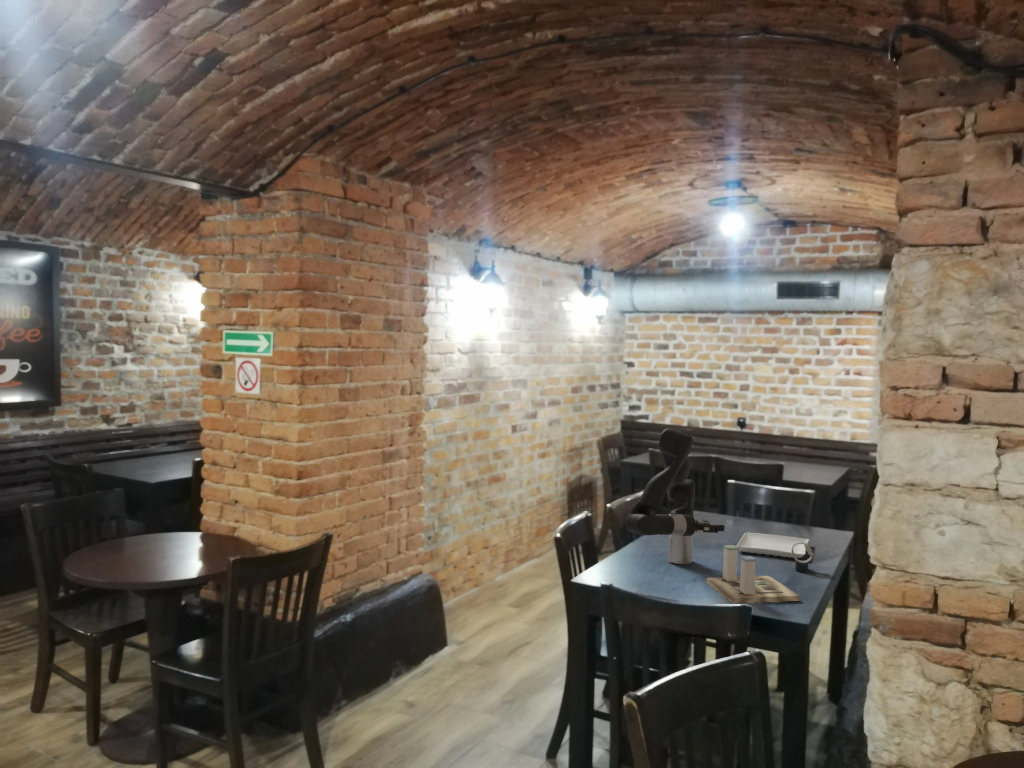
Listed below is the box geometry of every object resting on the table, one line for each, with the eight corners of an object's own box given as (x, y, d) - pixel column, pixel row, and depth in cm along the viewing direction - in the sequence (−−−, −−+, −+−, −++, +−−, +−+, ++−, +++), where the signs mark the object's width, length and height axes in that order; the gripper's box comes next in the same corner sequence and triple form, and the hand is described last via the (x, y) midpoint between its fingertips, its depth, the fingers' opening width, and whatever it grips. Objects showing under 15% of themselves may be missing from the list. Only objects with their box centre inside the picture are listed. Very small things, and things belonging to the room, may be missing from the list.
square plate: (809, 546, 331) (809, 537, 331) (804, 563, 306) (805, 553, 306) (744, 539, 343) (745, 530, 342) (735, 554, 318) (735, 545, 318)
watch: (813, 573, 292) (814, 545, 291) (791, 571, 294) (792, 543, 294) (812, 569, 297) (813, 541, 297) (790, 566, 300) (791, 539, 299)
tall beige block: (727, 581, 272) (728, 548, 272) (722, 577, 277) (723, 545, 276) (737, 581, 273) (738, 548, 272) (732, 577, 277) (733, 544, 277)
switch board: (732, 604, 256) (732, 597, 256) (706, 583, 278) (706, 577, 278) (799, 601, 260) (799, 594, 260) (768, 581, 281) (768, 574, 281)
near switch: (744, 594, 259) (745, 559, 258) (739, 590, 263) (740, 556, 262) (755, 594, 259) (756, 559, 258) (749, 589, 263) (750, 555, 263)
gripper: (692, 517, 261) (730, 518, 267) (667, 511, 274) (704, 512, 280) (690, 539, 260) (728, 540, 267) (666, 532, 273) (702, 532, 280)
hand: (716, 526), depth 274 cm, fingers open, 8 cm apart
